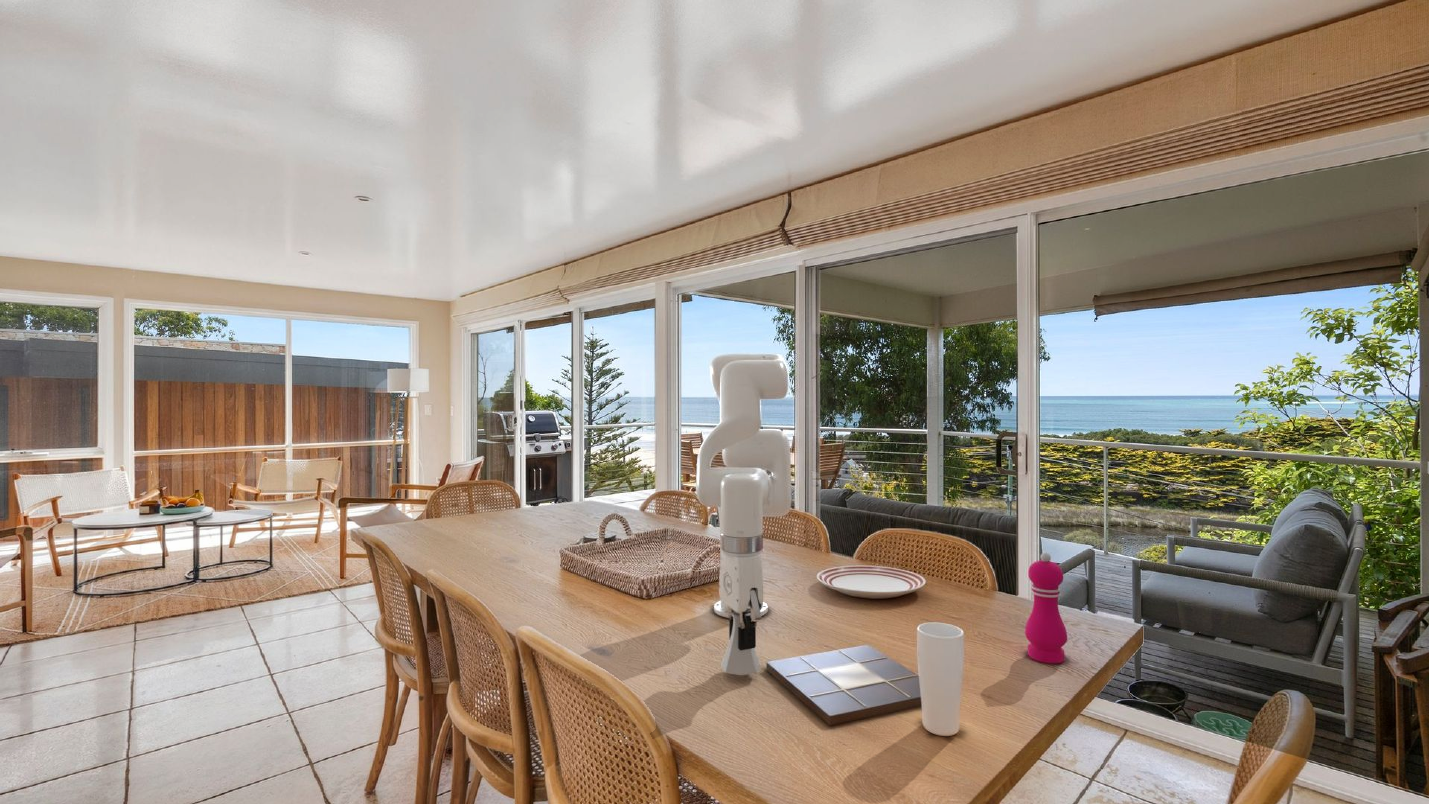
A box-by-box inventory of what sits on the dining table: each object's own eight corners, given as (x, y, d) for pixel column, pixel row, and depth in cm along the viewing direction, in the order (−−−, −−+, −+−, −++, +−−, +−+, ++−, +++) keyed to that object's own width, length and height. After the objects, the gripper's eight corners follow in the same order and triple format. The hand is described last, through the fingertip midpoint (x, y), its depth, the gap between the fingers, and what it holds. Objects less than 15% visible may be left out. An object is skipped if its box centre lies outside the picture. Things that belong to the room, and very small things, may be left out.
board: (766, 670, 120) (766, 661, 120) (867, 652, 128) (867, 644, 128) (829, 726, 100) (829, 715, 100) (945, 700, 108) (945, 690, 108)
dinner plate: (805, 576, 182) (805, 564, 182) (900, 573, 185) (900, 561, 185) (834, 608, 155) (834, 594, 155) (944, 603, 158) (944, 589, 158)
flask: (761, 677, 114) (761, 620, 114) (720, 676, 114) (720, 620, 114) (759, 659, 121) (759, 606, 121) (720, 659, 122) (720, 605, 121)
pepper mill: (1050, 667, 120) (1050, 559, 120) (1016, 654, 127) (1016, 551, 126) (1075, 660, 124) (1075, 554, 123) (1041, 647, 130) (1040, 547, 130)
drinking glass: (910, 718, 102) (909, 622, 101) (952, 716, 102) (951, 620, 102) (928, 741, 95) (927, 638, 95) (973, 739, 95) (972, 636, 95)
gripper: (706, 535, 124) (706, 631, 124) (741, 556, 108) (741, 666, 109) (742, 531, 126) (742, 625, 127) (781, 552, 111) (782, 659, 112)
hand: (742, 643), depth 118 cm, fingers closed on flask, 3 cm apart
